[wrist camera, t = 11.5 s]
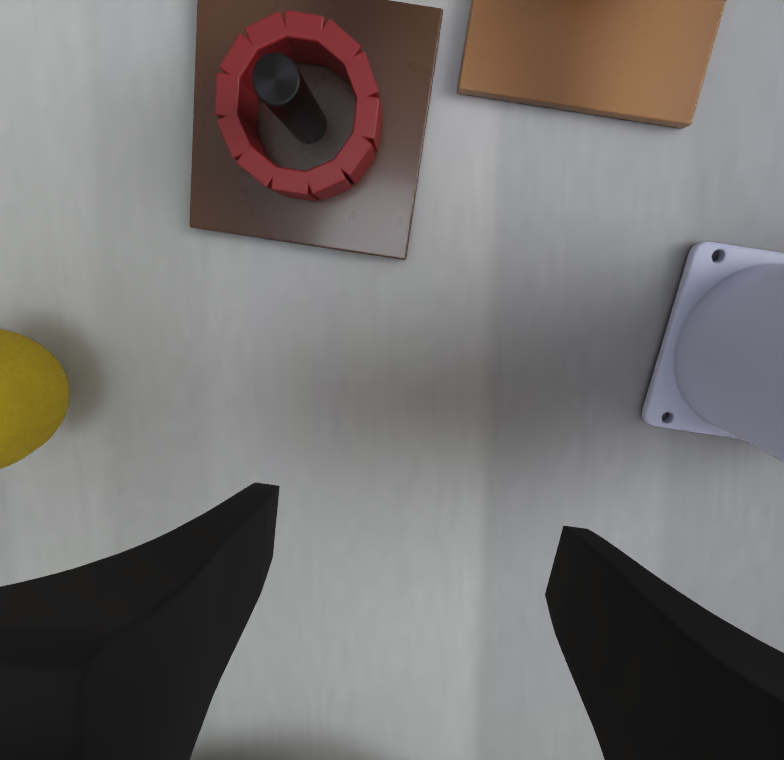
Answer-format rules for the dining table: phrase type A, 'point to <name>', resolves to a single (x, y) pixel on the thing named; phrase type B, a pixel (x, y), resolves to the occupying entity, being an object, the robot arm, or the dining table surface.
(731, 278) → the robot arm
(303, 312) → the dining table surface
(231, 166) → the square base plate
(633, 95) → the short stand
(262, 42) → the ring
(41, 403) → the lemon
